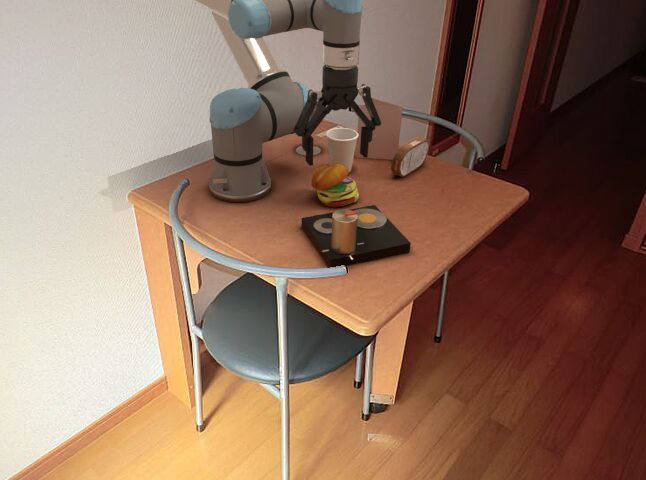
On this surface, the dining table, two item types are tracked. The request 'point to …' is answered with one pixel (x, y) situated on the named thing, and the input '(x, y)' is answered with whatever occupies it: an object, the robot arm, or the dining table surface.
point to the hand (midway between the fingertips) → (337, 159)
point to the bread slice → (410, 156)
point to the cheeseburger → (334, 185)
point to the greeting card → (382, 131)
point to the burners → (365, 221)
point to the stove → (358, 242)
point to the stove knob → (344, 231)
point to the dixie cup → (341, 146)
